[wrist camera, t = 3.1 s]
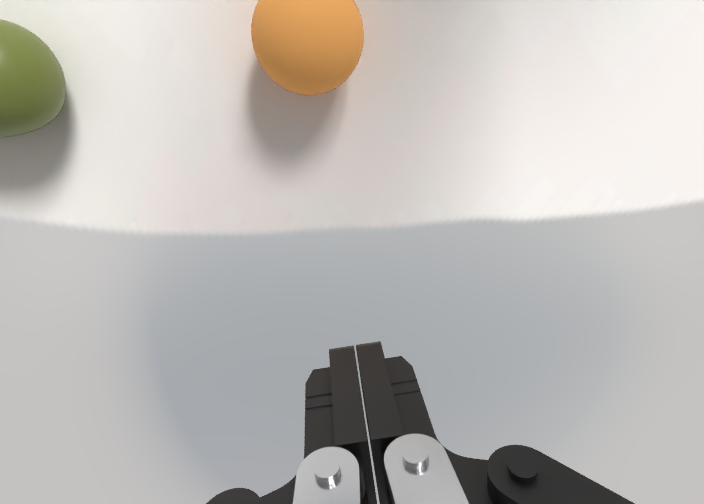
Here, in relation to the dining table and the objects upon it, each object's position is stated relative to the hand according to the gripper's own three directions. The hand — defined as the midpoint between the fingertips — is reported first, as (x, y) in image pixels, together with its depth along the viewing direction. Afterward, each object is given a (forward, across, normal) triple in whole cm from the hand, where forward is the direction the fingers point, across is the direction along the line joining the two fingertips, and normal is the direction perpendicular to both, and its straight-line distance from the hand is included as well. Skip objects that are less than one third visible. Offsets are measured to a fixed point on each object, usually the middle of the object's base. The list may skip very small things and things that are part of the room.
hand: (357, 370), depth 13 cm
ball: (+14, 0, -10) cm, 17 cm away
